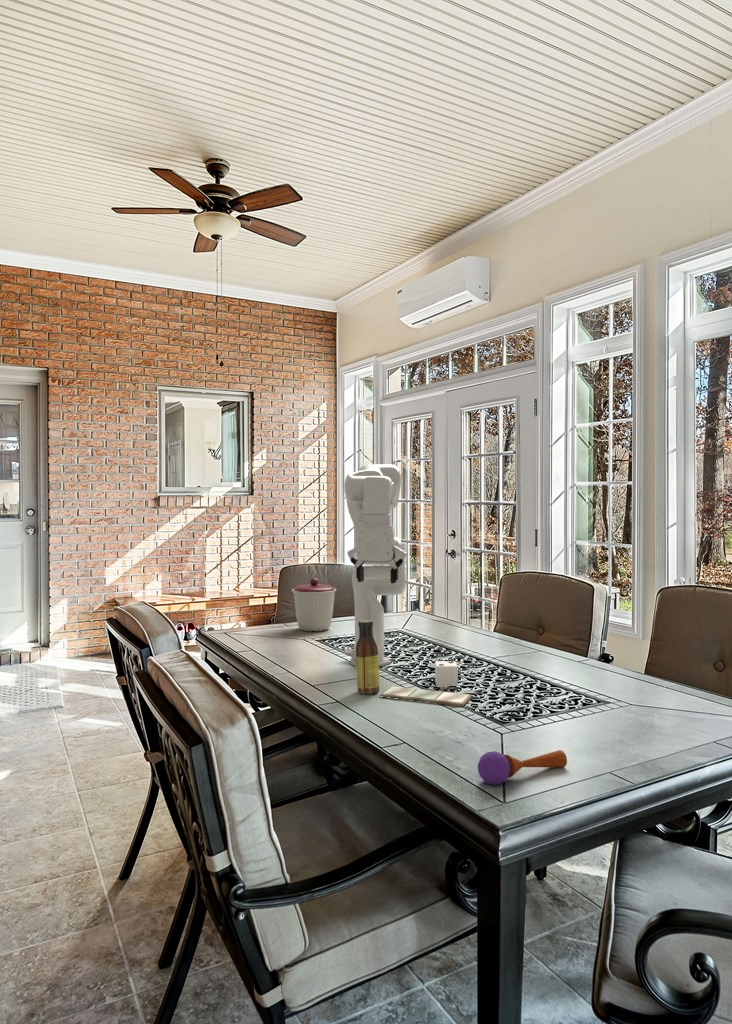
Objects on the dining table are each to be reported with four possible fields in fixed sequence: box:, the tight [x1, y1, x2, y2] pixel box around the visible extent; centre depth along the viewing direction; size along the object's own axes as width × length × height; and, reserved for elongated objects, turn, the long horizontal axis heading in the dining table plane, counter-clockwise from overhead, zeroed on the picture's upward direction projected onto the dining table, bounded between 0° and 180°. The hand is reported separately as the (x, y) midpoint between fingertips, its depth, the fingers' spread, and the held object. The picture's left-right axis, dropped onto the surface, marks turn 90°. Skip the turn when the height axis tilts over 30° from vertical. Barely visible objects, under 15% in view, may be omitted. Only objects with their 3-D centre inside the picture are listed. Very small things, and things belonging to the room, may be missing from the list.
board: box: [379, 685, 473, 708], centre depth 186 cm, size 23×9×1 cm, turn 68°
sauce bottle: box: [355, 620, 380, 695], centre depth 192 cm, size 6×6×20 cm
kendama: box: [477, 749, 568, 786], centre depth 134 cm, size 6×6×20 cm
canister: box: [291, 577, 337, 632], centre depth 282 cm, size 18×18×21 cm
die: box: [434, 660, 459, 688], centre depth 200 cm, size 6×6×6 cm
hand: (377, 582), depth 192 cm, fingers open, 9 cm apart
